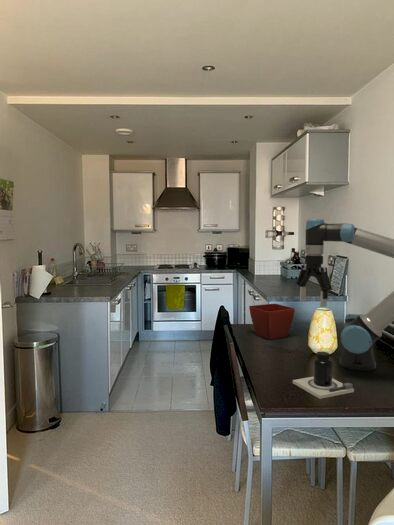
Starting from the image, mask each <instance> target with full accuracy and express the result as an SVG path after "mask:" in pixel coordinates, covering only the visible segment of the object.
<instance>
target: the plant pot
mask: <svg viewBox="0 0 394 525" xmlns="http://www.w3.org/2000/svg"><path fill="white" fill-rule="evenodd" d="M248 308H249V314H250V318H251V322H252V326H253V330H254V331H255V334H256V335H257V336H259V337H262V338H263V339H267V340H275V339H282V338H283V339H284V338H287V337H288V334H289V332H290V330H291V327H292V323H293V319H294V315H295V310H296V309H295V308H293V307H290V306H286V305H282V304H279V303H266V304H265V303H264V304H255V305H249V306H248Z"/></svg>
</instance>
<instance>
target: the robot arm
mask: <svg viewBox="0 0 394 525" xmlns="http://www.w3.org/2000/svg"><path fill="white" fill-rule="evenodd" d="M305 222H306V223H305V224H306V225H305V247H304V249H305V250H304V253H305V255H304V264H301V268H300V271H299V274H298V277H297V279H296V285H297V286H298V287H299V302H306V301H307V300H306V296H307V285H306V284H307V283H308V282H309V280H310V278H311V277H313V278H315V279H316V281H317V283H318V284H319V287H320V289H321V290H320V300H319V303H320V304H319V305H320V307H321V308H324V307H327V305H328V297H329V295H328V294H329V291H332V290H333V288H332V285H331V281H330V277H329V274H328V268H327V267H322V265H323V264H324V256H323V255H324V245H325V244H324V242H338V243H339V242H340V243H346V244H349V245H353V246H355V247H358V248H362V249H364V250H368V251H371V252H373V253H377V254H380V255H383V256H385V257H389V258H392V259H394V238H390V237H387V236H384V235H380V234H377V233H374V232H371V231H367V230H364V229H361V228H358V227H355V225H354V224H353V223H347V222H346V223H326V222H325V219H323V218H310V219H309V218H308V219H307V220H306V221H305ZM344 318H345V319H344V321H345V322H344V328H343V329H342V330H341V332H340V342H341V344H342V346H343V349H342V353H341V356H340V357H339V364H340V365H341V367H343V368H346V369H350V370H353V371H361V372H362V371H363V372H368V371H373V370H376V368H377V361H376V359H375V355H374V350H373V344H374V343H375V342H376V341H378V339H380V338H381V337H383V336H382V335H383V333H382V332H383V331H384V330H385V329H386V328H387V327H388V326H389V325H391V324H392V323H394V290H393V291H392V292H390V293H389V294H388V295H387V296H386V297H385V298H384V299H382V300H381V301H380V302H378V304H377V305H376V306H374V307H373V308H371V310H369V311H368V312H367V313H366V314H363V313H362V314H356V313H355V314H353V313H347V314H346V315H345V317H344Z"/></svg>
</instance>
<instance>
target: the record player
mask: <svg viewBox="0 0 394 525" xmlns="http://www.w3.org/2000/svg"><path fill="white" fill-rule="evenodd" d="M292 384H294V385H295V386H297V387H298V388H300V389H303V390H304V391H306V392H307V393H309V394H311V395H312V396H314V397H316V398H318V399H319V400H321V399H325V398H326V399H327V398H331V397H336V396H340V395H346V394H352V393H355V388H353V386H354V385H353V383H350V382H345V383H342V382H340V381H338V380H337V379H335V378H333V377H332V384H331V385H330V386H326V387H324V386H318V385H316V384H315V383H314V376H309V377H302V378H298V379H292Z"/></svg>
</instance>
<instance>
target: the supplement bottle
mask: <svg viewBox="0 0 394 525" xmlns="http://www.w3.org/2000/svg"><path fill="white" fill-rule="evenodd" d="M313 377H314V383H315V384H316V385H318V386H324V387H326V386H330V385H331V384H332V378H333V361H332V360H330V352H327V351H317V352H316V358H315V359H314V360H313Z"/></svg>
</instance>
